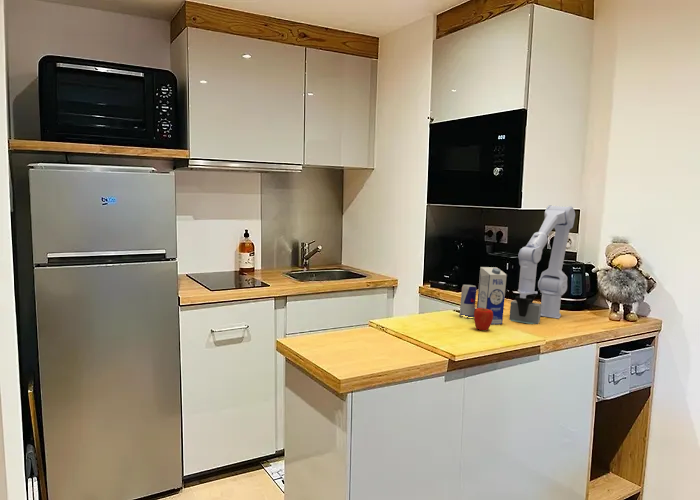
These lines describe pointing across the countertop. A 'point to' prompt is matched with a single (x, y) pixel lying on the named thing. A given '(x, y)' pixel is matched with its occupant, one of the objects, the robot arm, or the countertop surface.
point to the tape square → (522, 321)
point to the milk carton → (492, 292)
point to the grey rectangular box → (531, 314)
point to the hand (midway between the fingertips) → (524, 314)
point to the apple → (483, 318)
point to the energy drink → (468, 300)
